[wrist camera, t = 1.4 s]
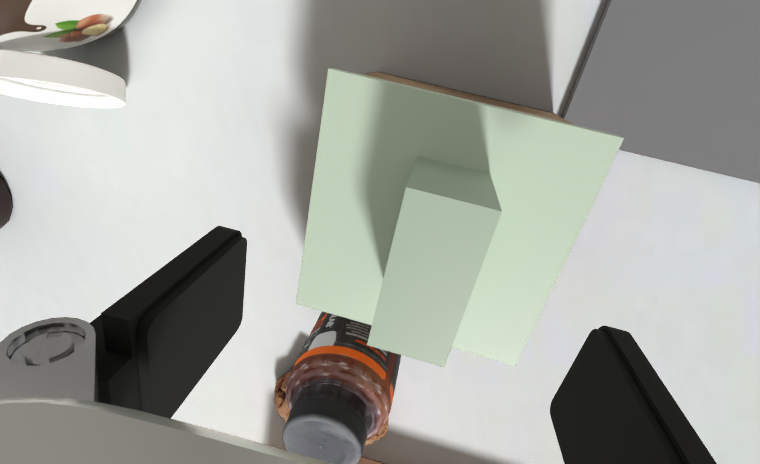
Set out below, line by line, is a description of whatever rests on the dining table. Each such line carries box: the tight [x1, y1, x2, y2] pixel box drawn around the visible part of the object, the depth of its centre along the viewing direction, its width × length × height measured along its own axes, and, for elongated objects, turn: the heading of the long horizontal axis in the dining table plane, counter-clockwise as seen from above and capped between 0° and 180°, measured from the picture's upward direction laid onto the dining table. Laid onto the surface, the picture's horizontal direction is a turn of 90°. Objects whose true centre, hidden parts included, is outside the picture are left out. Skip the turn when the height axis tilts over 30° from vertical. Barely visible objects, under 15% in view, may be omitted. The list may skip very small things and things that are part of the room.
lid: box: [296, 68, 624, 367], centre depth 15 cm, size 11×11×6 cm
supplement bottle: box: [283, 311, 401, 464], centre depth 24 cm, size 6×6×11 cm
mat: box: [562, 0, 760, 183], centre depth 19 cm, size 12×12×1 cm
